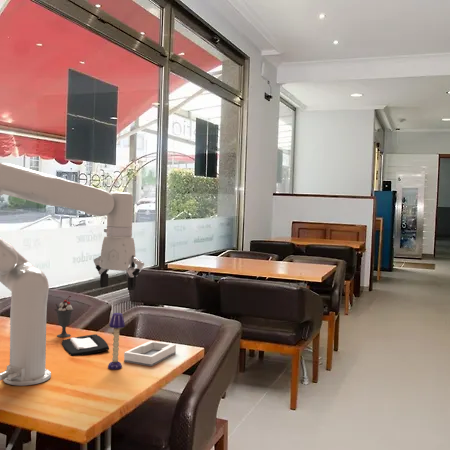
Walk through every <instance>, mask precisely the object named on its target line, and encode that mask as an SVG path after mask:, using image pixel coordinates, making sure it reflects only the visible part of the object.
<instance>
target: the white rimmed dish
mask: <svg viewBox="0 0 450 450" xmlns="http://www.w3.org/2000/svg"><path fill="white" fill-rule="evenodd" d="M176 346H177V345H176V344H173V343H169V342H168V343H167V342H162V341H161V342H160V341H156V340H155V341H154V340H148V341H147V342H144V343H142V344H140V345H138V346H137V345H136V347H133V348H131V349H129V350H127V351H124V355H123V363H130V364H134V365H135V364H137V365H141V366H147V367H153V366H155V365H157V364H159V363H160V362H163V361H164V360H166V359H168V358H169V357H172V356H173V355H175V354H176V352H177V351H176V348H177V347H176Z"/></svg>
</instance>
